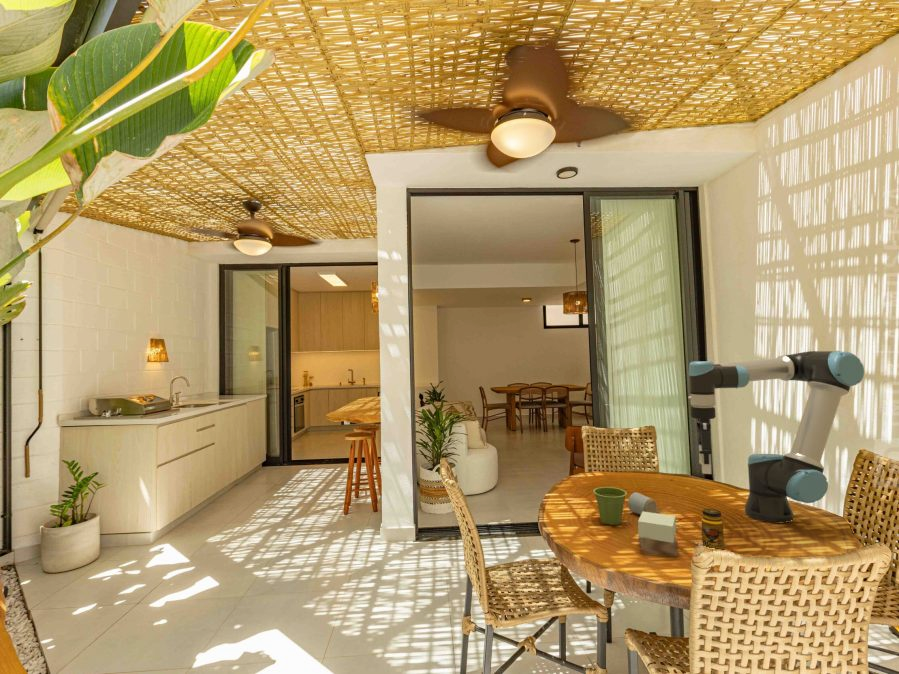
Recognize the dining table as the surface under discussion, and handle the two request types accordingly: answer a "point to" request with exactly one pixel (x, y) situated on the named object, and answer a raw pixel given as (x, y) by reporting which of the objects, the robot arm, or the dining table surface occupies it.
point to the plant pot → (610, 504)
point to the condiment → (712, 529)
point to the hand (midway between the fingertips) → (705, 468)
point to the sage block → (657, 526)
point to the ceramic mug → (641, 504)
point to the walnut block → (658, 547)
